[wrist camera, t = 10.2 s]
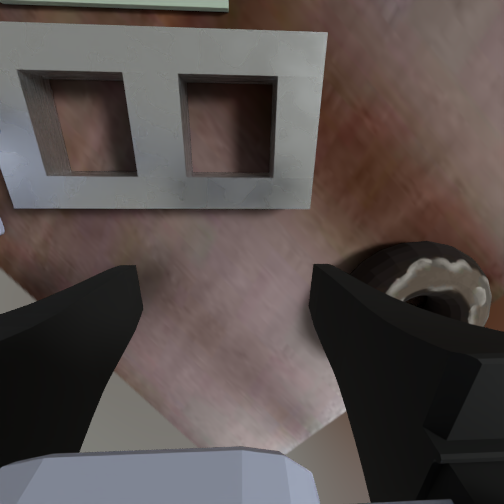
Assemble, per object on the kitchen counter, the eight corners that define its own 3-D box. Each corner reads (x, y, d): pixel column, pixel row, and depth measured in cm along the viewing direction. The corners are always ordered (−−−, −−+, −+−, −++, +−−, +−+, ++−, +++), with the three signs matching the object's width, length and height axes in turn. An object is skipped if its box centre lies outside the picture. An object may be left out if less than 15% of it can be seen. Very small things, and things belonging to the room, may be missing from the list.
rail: (42, 199, 18) (14, 208, 16) (-6, 37, 15) (-51, 19, 13) (301, 200, 19) (309, 208, 17) (314, 47, 16) (327, 32, 13)
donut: (417, 203, 20) (457, 217, 16) (486, 295, 24) (532, 324, 20) (300, 299, 23) (312, 331, 19) (378, 368, 27) (400, 405, 23)
